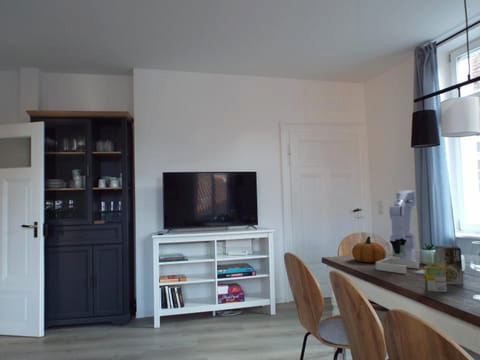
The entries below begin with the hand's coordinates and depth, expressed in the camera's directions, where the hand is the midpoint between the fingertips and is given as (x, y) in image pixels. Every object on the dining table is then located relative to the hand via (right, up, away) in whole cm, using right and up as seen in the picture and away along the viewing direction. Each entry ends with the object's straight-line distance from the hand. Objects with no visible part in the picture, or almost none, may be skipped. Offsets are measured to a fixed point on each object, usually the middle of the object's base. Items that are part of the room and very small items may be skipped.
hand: (398, 253), depth 180 cm
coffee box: (+8, -7, -30) cm, 32 cm away
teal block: (0, -2, 0) cm, 2 cm away
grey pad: (+9, -8, -11) cm, 16 cm away
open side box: (0, -9, 0) cm, 9 cm away
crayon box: (-5, -6, -42) cm, 43 cm away
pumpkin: (-7, -11, +25) cm, 28 cm away
